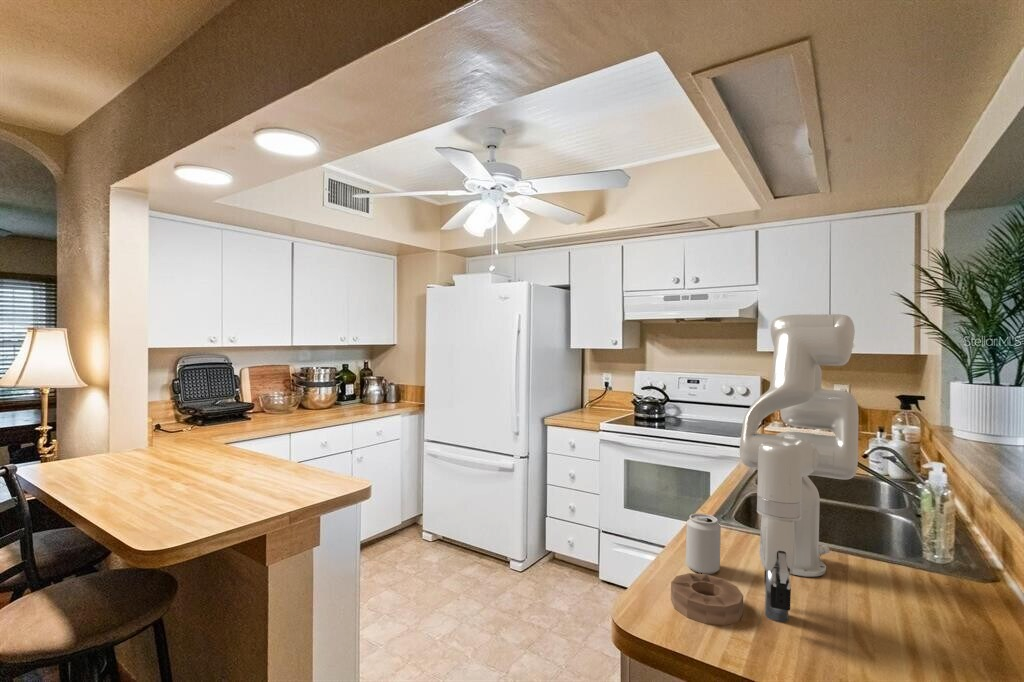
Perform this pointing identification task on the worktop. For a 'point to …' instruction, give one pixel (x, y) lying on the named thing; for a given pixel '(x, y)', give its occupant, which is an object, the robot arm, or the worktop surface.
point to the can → (703, 543)
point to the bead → (707, 599)
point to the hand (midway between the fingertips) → (776, 596)
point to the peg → (770, 612)
